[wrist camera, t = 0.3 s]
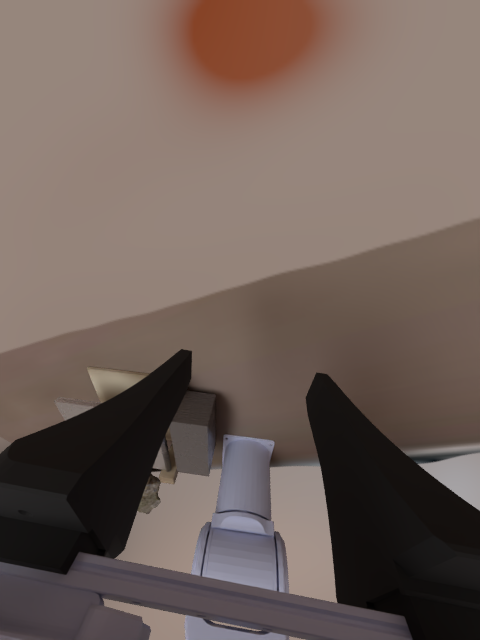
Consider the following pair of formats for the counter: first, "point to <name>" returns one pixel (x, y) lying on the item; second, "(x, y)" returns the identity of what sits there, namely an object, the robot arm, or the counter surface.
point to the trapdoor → (175, 431)
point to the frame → (117, 382)
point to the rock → (150, 495)
